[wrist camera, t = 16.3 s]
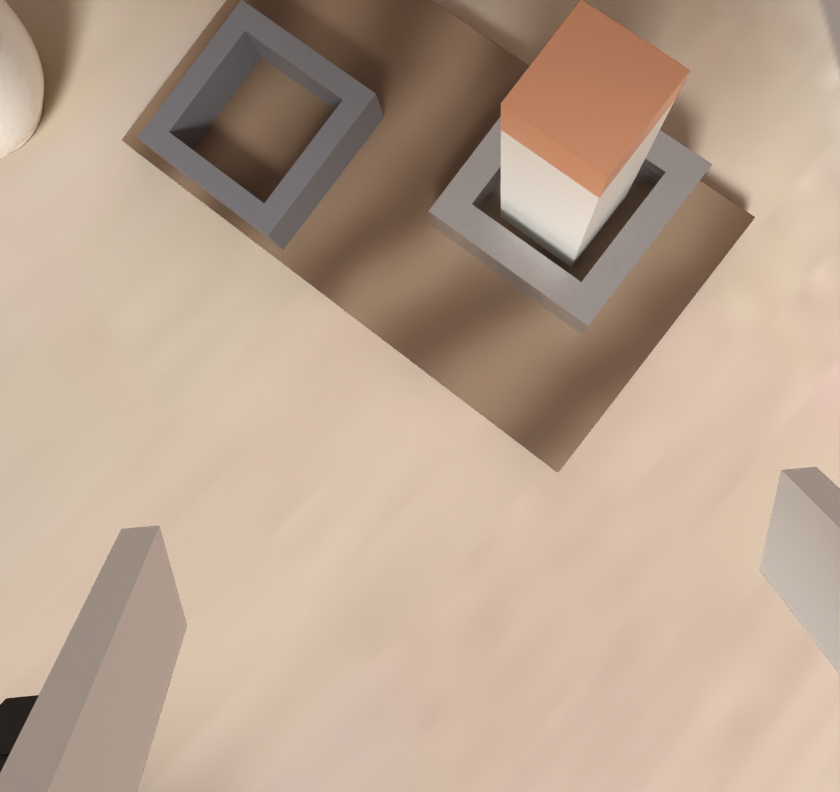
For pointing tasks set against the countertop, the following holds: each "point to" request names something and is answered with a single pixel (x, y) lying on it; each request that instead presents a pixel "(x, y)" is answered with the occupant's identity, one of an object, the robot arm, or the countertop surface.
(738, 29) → the countertop surface
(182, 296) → the countertop surface
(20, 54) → the lidded jar
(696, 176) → the port
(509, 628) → the countertop surface
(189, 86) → the frame
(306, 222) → the walnut board
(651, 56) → the plug
